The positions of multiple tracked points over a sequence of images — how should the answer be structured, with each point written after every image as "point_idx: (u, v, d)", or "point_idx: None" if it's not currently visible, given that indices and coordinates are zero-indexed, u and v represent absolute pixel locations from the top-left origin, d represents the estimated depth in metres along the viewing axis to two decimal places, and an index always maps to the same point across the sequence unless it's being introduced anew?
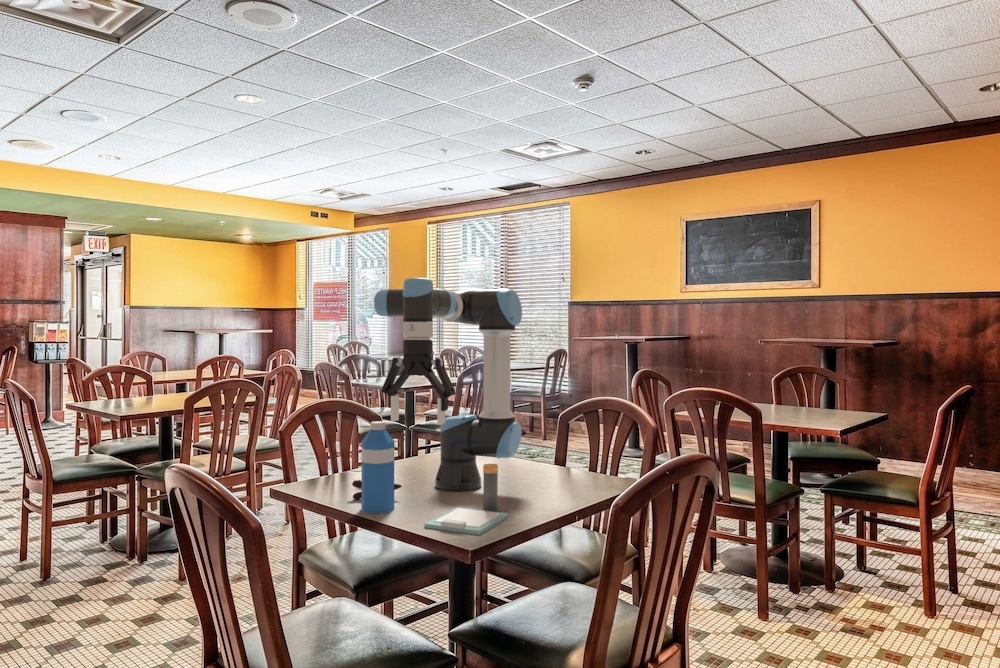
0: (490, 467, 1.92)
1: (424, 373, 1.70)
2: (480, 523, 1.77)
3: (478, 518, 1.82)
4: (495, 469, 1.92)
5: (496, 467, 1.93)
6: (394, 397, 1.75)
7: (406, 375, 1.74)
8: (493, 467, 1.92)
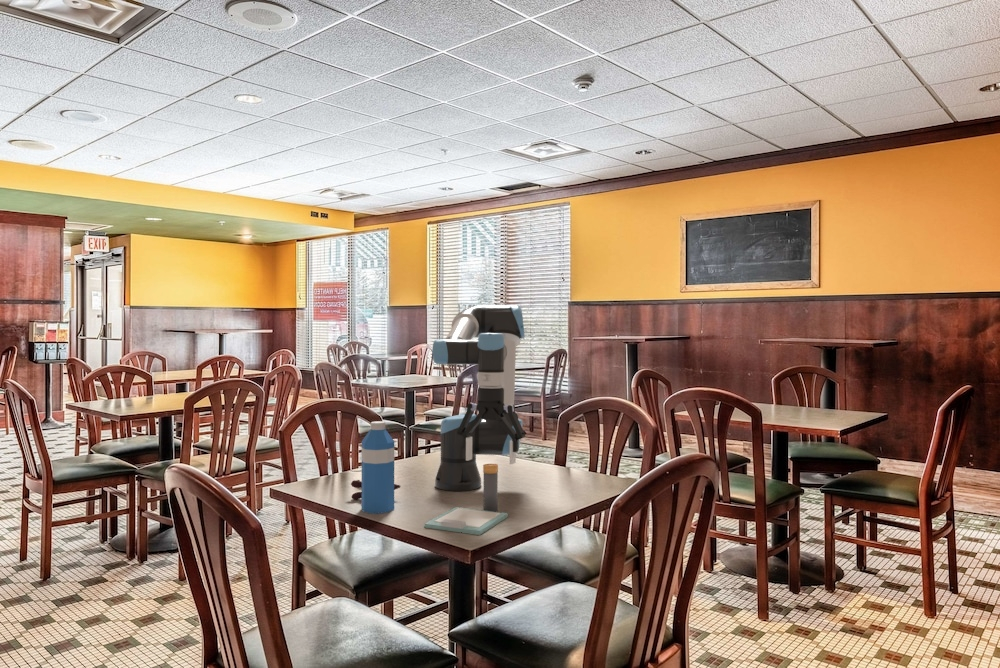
0: (490, 467, 1.92)
1: (497, 418, 1.91)
2: (480, 523, 1.77)
3: (478, 518, 1.82)
4: (495, 469, 1.92)
5: (496, 467, 1.93)
6: (469, 439, 1.95)
7: (480, 419, 1.94)
8: (493, 467, 1.92)
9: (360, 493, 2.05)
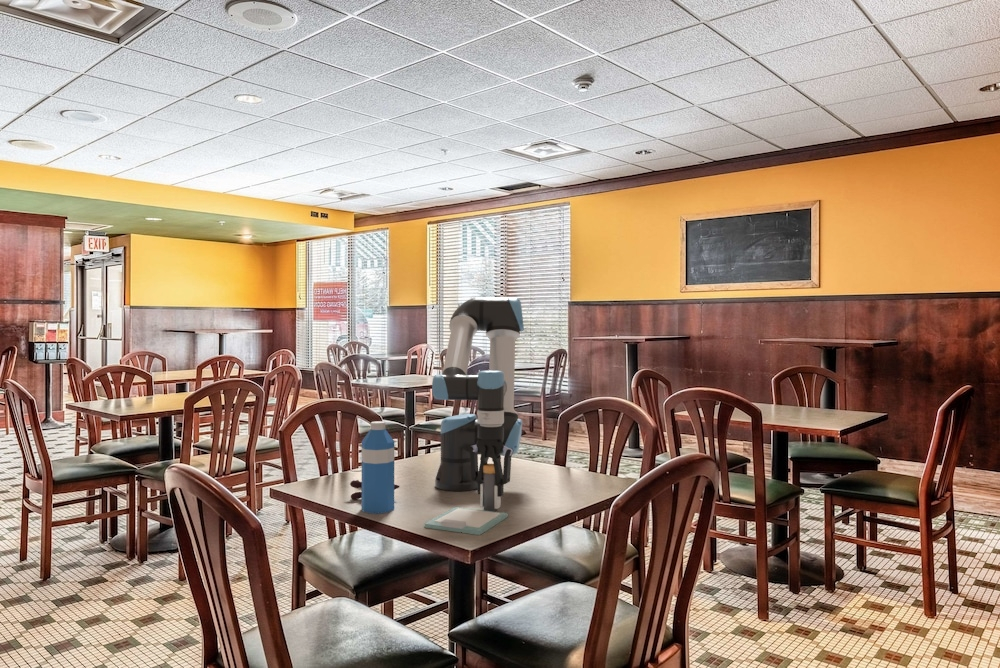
0: (490, 467, 1.92)
1: (493, 458, 1.91)
2: (480, 523, 1.77)
3: (478, 518, 1.82)
4: None
5: None
6: (483, 485, 1.94)
7: (485, 459, 1.94)
8: (493, 467, 1.92)
9: (359, 493, 2.05)
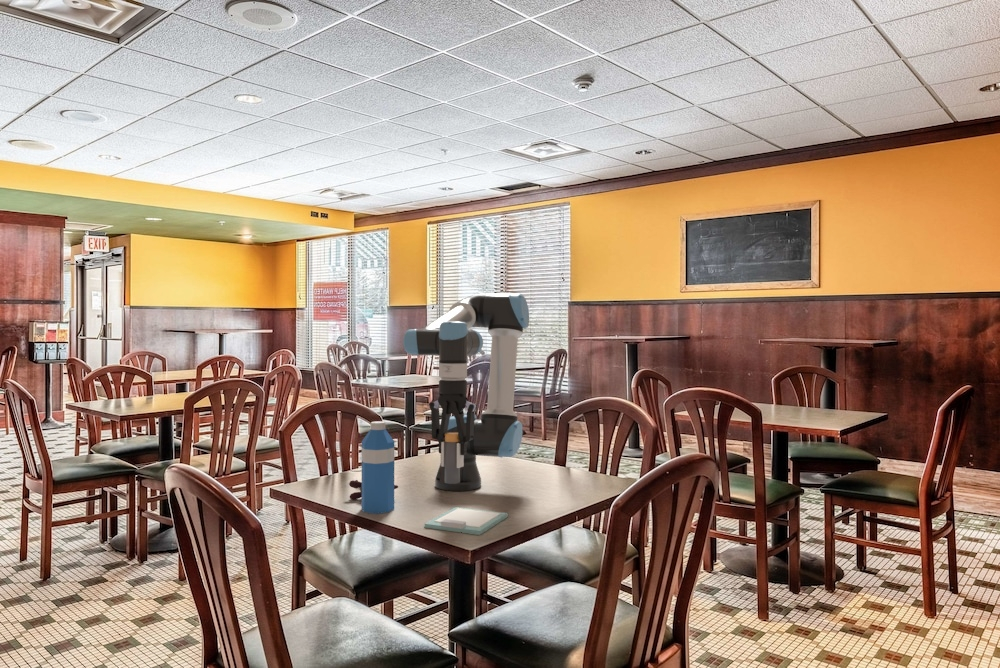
0: (452, 435, 1.80)
1: (455, 414, 1.80)
2: (480, 523, 1.77)
3: (478, 518, 1.82)
4: (457, 437, 1.81)
5: None
6: (444, 443, 1.82)
7: (447, 415, 1.82)
8: (455, 435, 1.80)
9: (358, 493, 2.05)
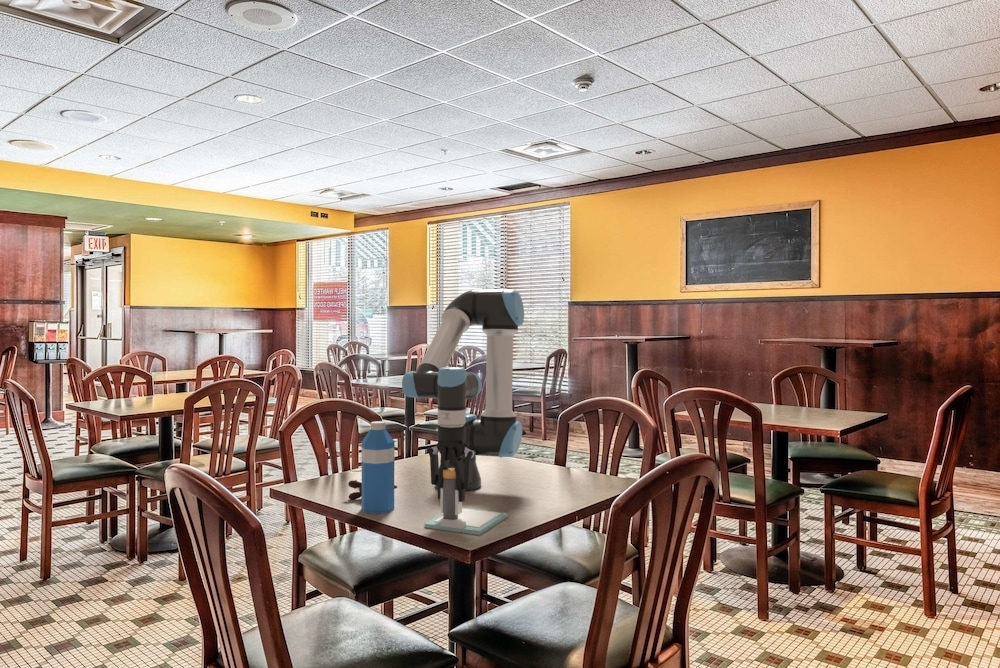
0: (450, 472, 1.80)
1: (453, 460, 1.79)
2: (480, 523, 1.77)
3: (478, 518, 1.82)
4: (455, 474, 1.80)
5: None
6: None
7: (446, 461, 1.82)
8: (453, 472, 1.80)
9: (357, 493, 2.05)
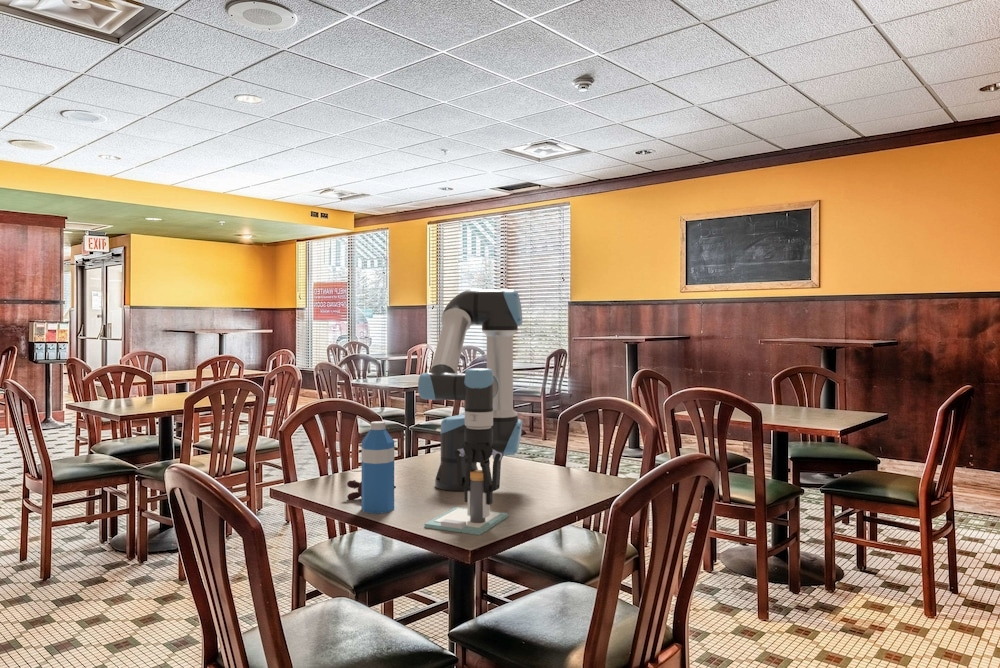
0: (478, 474, 1.77)
1: (481, 463, 1.77)
2: (480, 523, 1.77)
3: None
4: None
5: None
6: None
7: (473, 464, 1.79)
8: (481, 474, 1.77)
9: (356, 493, 2.05)
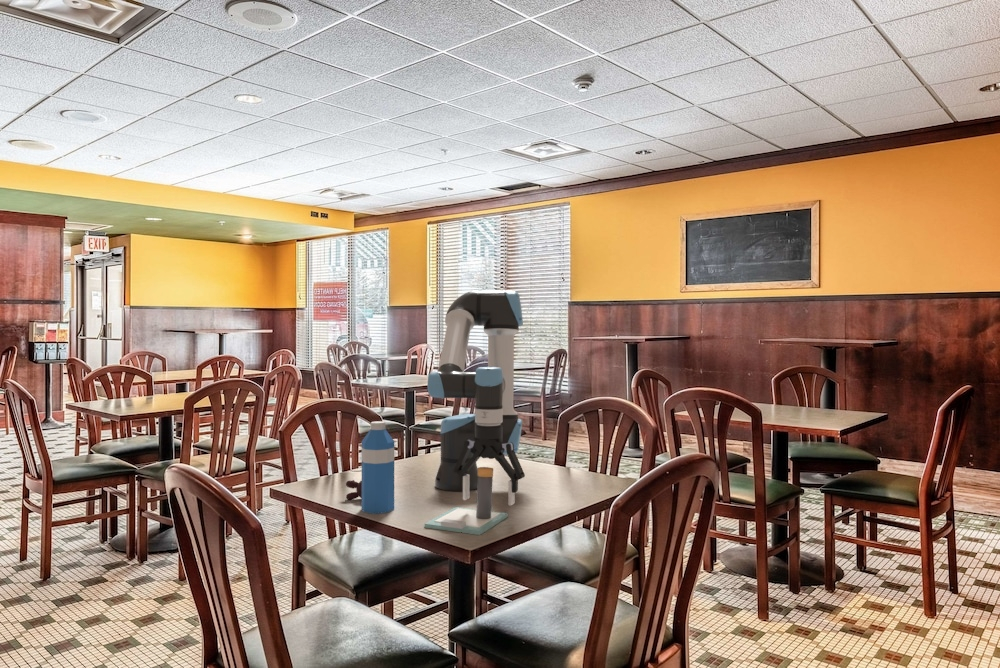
0: (485, 470, 1.81)
1: (495, 457, 1.82)
2: (480, 523, 1.77)
3: (478, 518, 1.82)
4: (490, 473, 1.81)
5: (491, 470, 1.82)
6: (466, 477, 1.87)
7: (477, 457, 1.86)
8: (488, 470, 1.81)
9: (354, 493, 2.05)
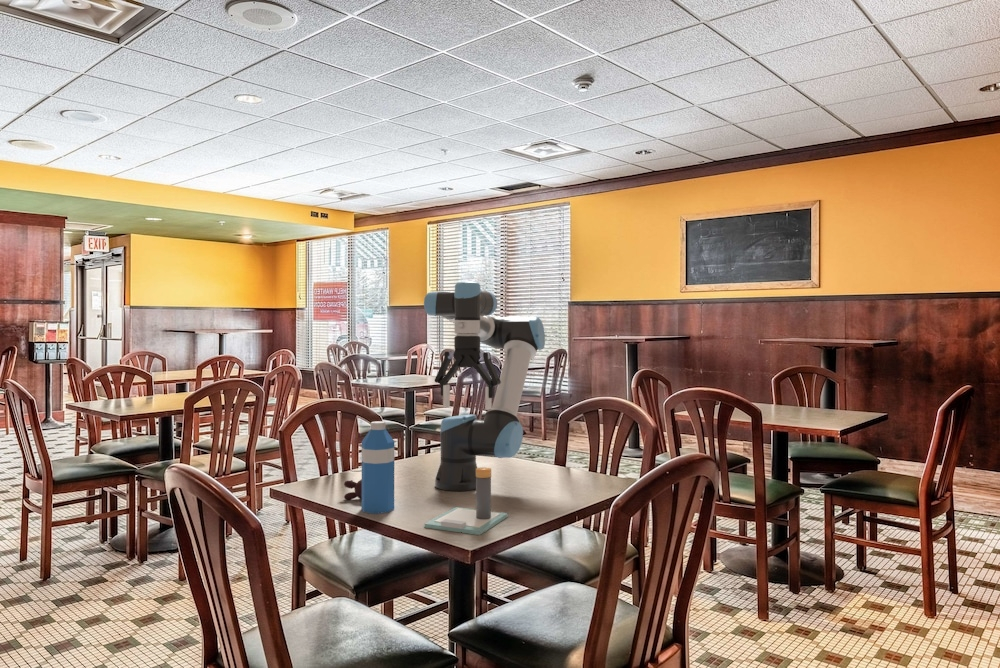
0: (483, 471, 1.80)
1: (473, 365, 1.95)
2: (480, 523, 1.77)
3: None
4: (488, 473, 1.81)
5: (489, 471, 1.81)
6: (446, 386, 1.99)
7: (457, 367, 1.98)
8: (486, 471, 1.81)
9: (352, 493, 2.05)
